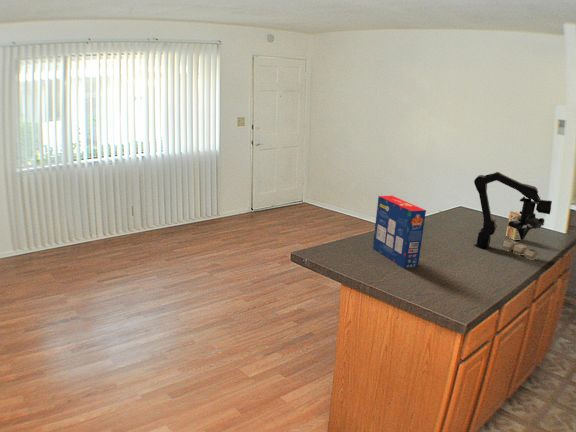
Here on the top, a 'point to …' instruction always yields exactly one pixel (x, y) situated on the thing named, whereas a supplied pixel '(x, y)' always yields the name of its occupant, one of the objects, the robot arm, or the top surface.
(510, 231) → the candy box
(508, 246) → the two mark block
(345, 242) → the top surface
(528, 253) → the three mark block
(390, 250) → the blue toy box
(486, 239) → the robot arm
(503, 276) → the top surface
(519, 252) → the plain block
